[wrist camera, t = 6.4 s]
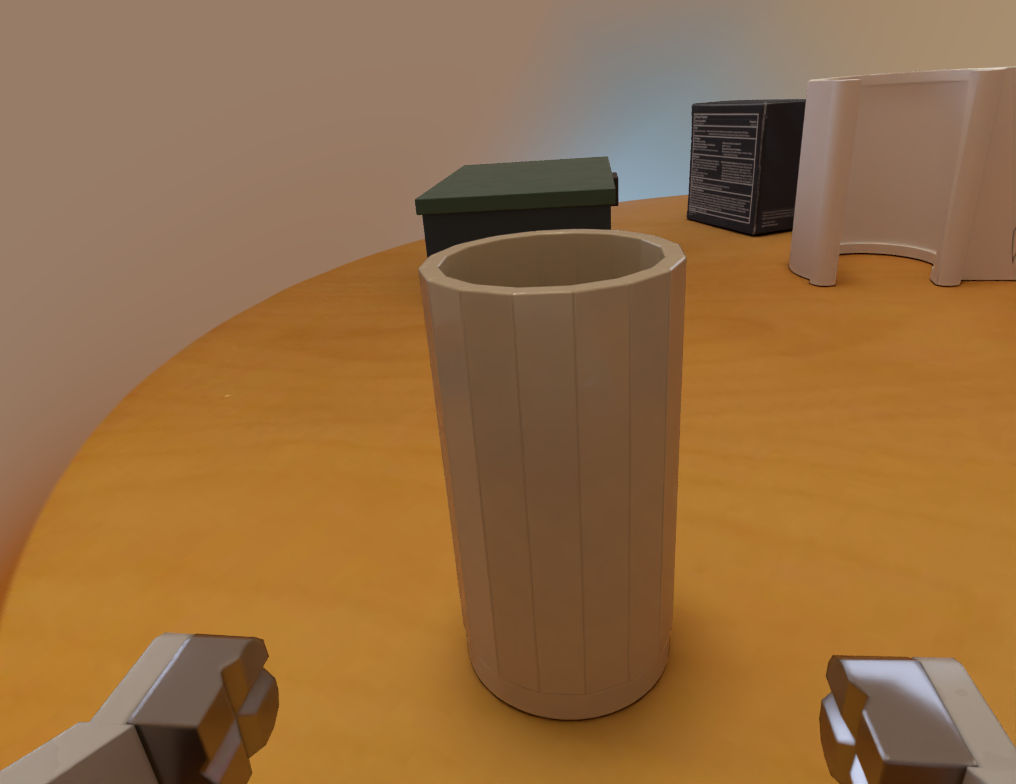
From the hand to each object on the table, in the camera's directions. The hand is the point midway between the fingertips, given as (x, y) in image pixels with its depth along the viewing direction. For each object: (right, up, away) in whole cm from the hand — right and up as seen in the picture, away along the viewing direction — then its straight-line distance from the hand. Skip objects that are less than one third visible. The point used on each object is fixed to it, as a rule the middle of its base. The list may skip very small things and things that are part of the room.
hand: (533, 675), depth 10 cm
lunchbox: (+2, +14, +43) cm, 46 cm away
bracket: (+32, +12, +35) cm, 49 cm away
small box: (+22, +20, +53) cm, 60 cm away
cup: (+1, -2, +8) cm, 8 cm away
